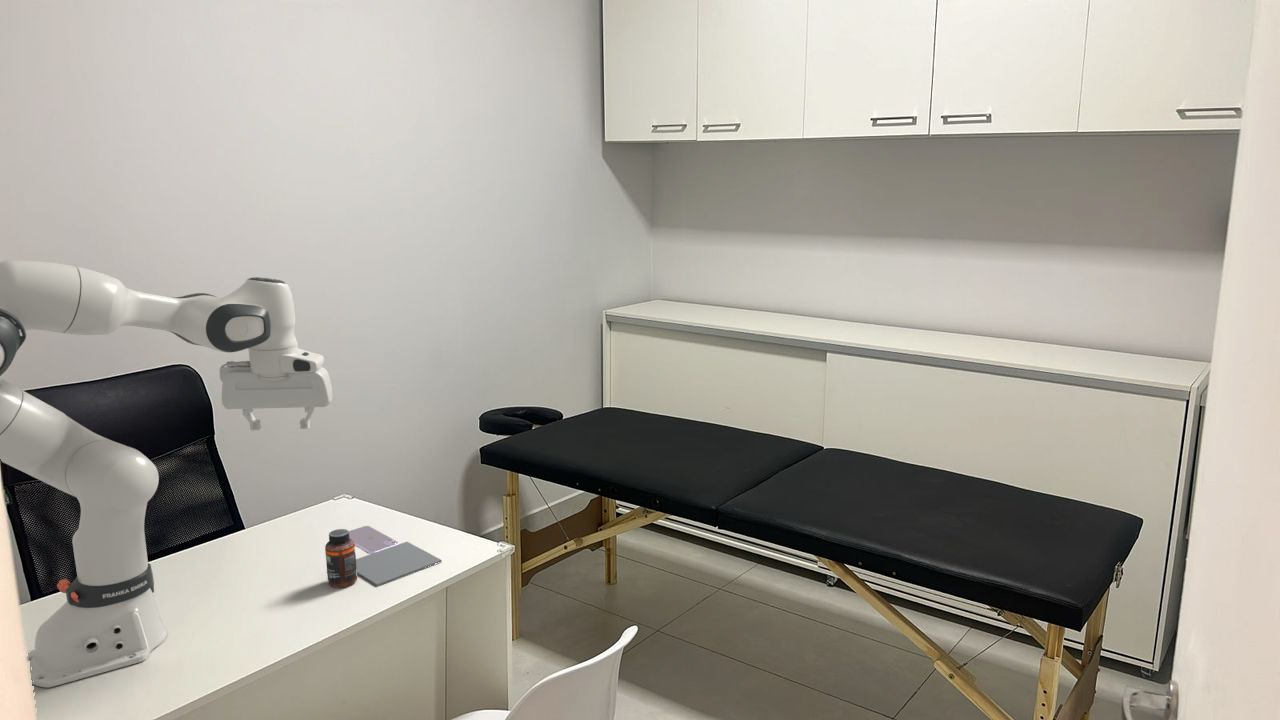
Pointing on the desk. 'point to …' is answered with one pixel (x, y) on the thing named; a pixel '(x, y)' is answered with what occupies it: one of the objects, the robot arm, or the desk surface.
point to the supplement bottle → (340, 559)
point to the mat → (393, 563)
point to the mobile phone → (371, 539)
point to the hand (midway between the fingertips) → (280, 428)
